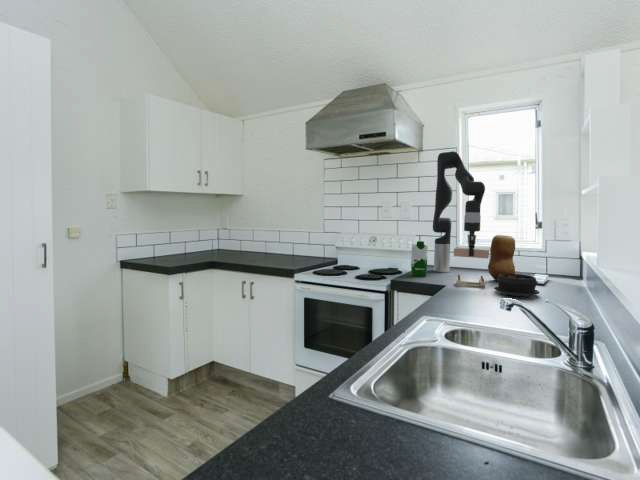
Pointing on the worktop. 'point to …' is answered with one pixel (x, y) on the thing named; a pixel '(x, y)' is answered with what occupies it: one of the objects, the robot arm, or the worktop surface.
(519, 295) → the casserole
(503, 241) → the butternut squash
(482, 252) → the brown wooden block
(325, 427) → the worktop surface
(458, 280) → the rack
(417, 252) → the milk carton
